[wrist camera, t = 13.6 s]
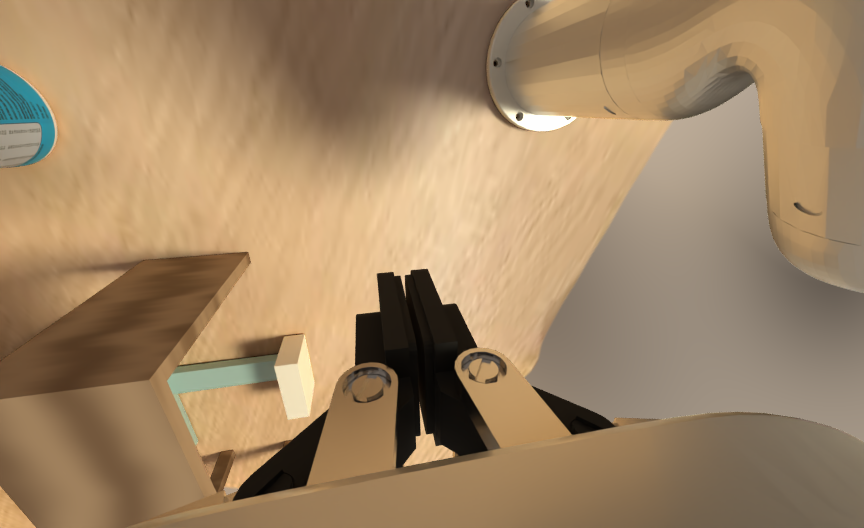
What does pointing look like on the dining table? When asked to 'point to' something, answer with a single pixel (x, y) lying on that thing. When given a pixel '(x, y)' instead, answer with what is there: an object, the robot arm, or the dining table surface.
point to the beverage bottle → (24, 122)
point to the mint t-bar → (254, 377)
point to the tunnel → (112, 401)
